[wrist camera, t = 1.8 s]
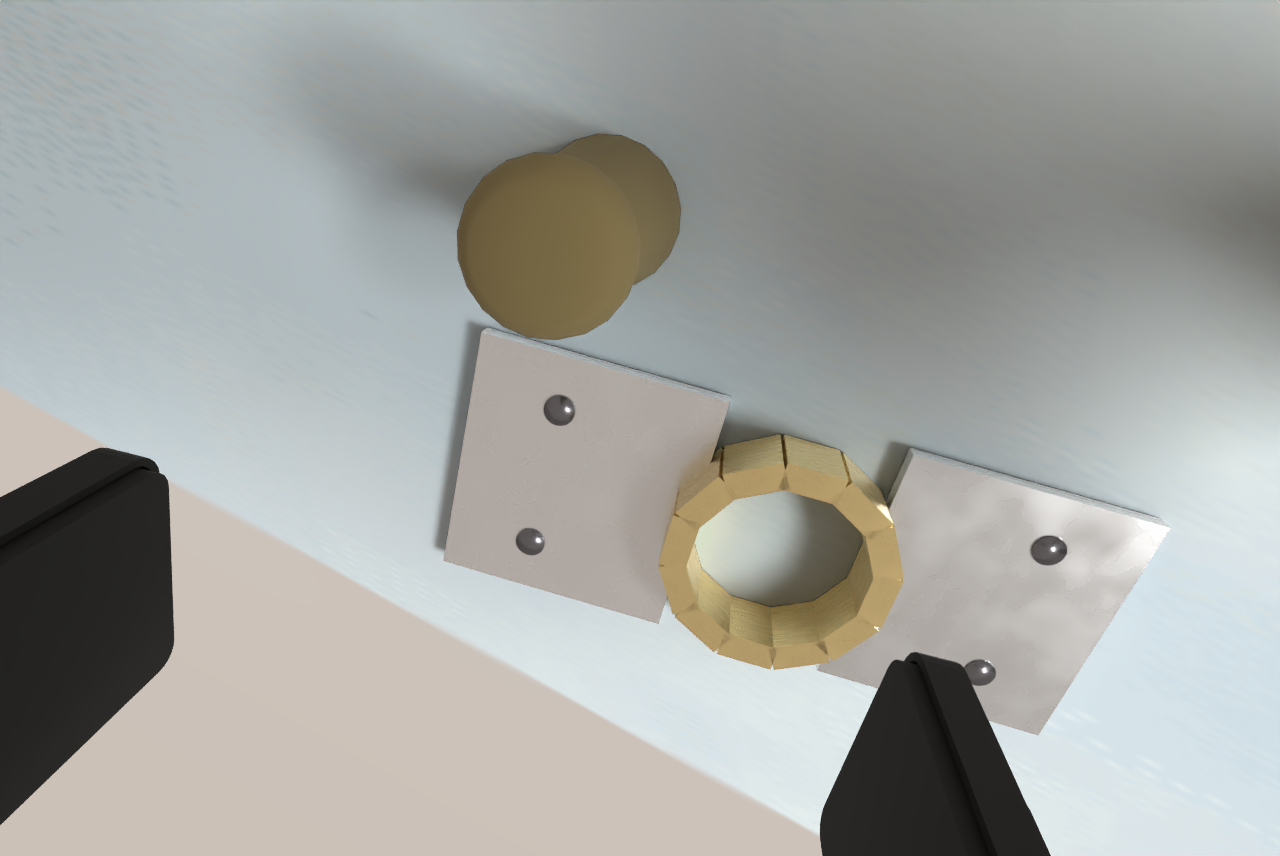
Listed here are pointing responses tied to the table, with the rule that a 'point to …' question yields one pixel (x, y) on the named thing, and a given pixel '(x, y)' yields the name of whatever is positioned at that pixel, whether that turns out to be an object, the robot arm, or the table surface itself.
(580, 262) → the cork
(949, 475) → the mounting plate with ring
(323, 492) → the table surface
